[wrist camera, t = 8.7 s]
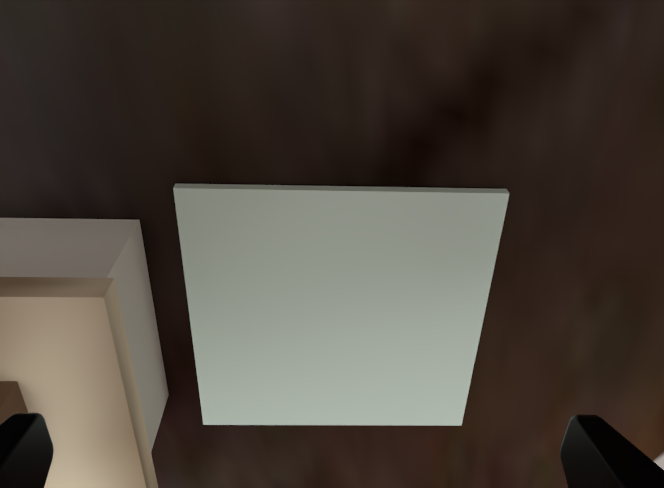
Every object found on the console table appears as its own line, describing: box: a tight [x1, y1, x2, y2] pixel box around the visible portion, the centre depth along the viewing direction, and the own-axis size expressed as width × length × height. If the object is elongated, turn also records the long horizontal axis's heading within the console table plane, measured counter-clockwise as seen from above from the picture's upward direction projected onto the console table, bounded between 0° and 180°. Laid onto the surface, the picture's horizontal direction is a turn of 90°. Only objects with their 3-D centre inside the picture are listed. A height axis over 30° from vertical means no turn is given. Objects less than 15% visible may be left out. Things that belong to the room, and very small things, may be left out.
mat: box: [173, 183, 509, 425], centre depth 23 cm, size 12×12×1 cm
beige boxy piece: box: [0, 218, 169, 451], centre depth 21 cm, size 9×9×4 cm
